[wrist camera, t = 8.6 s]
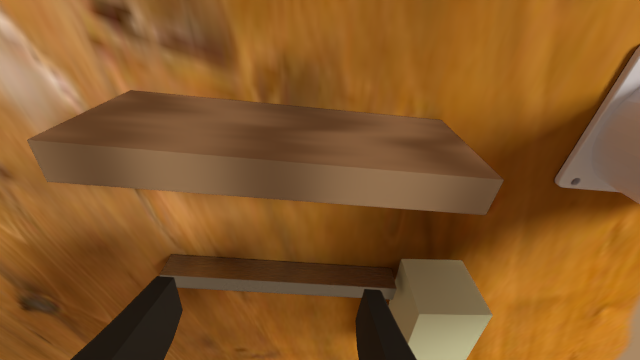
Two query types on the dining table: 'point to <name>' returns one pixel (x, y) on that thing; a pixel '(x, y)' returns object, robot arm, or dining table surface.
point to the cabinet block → (438, 308)
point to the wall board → (267, 153)
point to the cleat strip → (277, 276)
